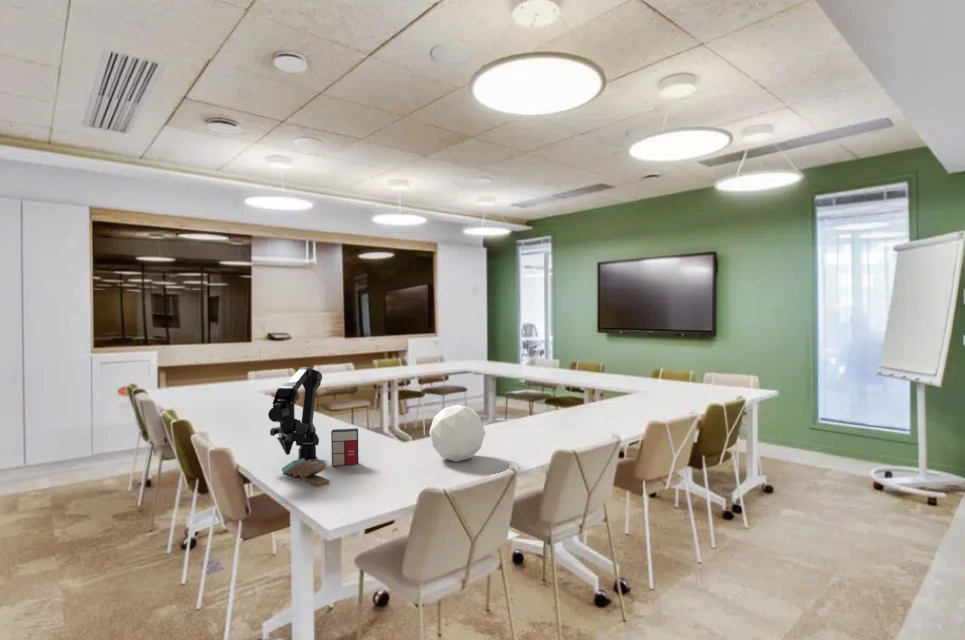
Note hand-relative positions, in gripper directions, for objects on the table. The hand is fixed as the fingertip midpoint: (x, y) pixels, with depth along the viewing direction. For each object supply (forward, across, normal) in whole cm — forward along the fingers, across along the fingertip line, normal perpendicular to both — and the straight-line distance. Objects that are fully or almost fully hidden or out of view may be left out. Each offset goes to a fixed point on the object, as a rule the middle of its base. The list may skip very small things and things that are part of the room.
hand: (287, 454), depth 217 cm
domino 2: (+6, -4, 0) cm, 7 cm away
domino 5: (+7, -16, 0) cm, 17 cm away
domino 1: (+6, 0, 0) cm, 6 cm away
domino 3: (+6, -8, 0) cm, 10 cm away
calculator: (+7, -10, -21) cm, 24 cm away
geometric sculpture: (+7, -41, -58) cm, 71 cm away
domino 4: (+6, -13, 0) cm, 15 cm away
